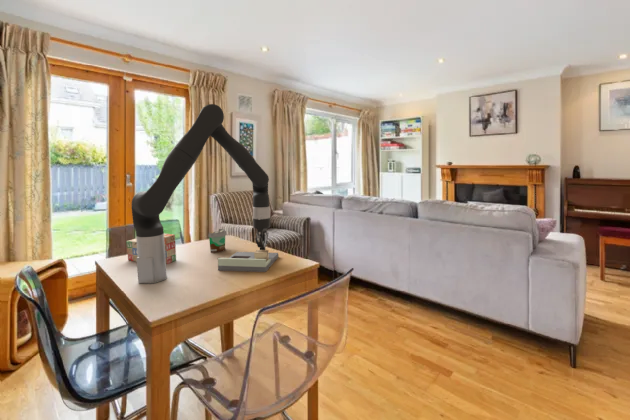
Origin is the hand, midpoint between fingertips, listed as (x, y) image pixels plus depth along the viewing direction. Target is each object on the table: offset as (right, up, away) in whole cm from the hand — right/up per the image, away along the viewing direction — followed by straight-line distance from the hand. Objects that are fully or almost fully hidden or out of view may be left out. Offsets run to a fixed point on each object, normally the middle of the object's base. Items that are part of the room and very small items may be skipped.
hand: (262, 255), depth 147 cm
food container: (-25, -1, +21) cm, 32 cm away
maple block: (0, -2, -5) cm, 5 cm away
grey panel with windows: (-5, -3, -2) cm, 6 cm away
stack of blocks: (-51, -3, +4) cm, 51 cm away
